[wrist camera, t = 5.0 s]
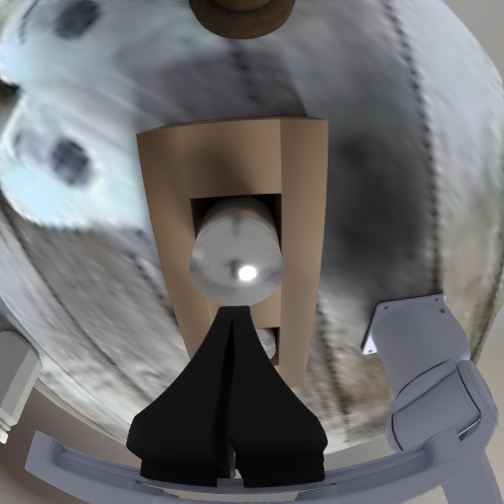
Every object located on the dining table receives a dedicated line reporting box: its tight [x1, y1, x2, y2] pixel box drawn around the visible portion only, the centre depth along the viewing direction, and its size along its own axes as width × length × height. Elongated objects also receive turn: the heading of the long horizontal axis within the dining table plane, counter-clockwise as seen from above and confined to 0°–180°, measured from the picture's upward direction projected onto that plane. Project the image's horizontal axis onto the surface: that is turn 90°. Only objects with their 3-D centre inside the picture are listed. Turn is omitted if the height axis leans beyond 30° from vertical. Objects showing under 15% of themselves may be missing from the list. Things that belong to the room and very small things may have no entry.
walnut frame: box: [136, 116, 328, 387], centre depth 20 cm, size 10×23×5 cm, turn 3°
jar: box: [0, 330, 42, 443], centre depth 23 cm, size 10×10×18 cm
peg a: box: [189, 195, 283, 306], centre depth 15 cm, size 4×4×5 cm
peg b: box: [255, 327, 276, 359], centre depth 23 cm, size 4×4×5 cm
